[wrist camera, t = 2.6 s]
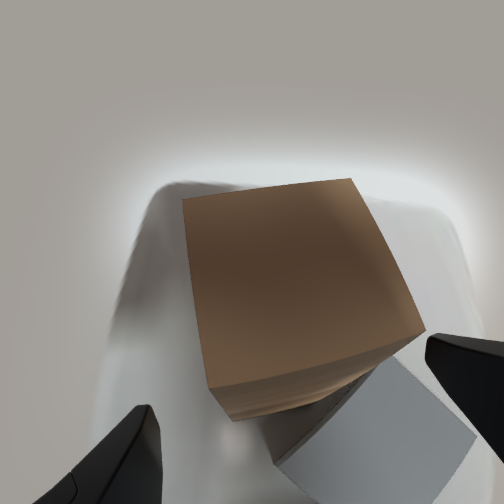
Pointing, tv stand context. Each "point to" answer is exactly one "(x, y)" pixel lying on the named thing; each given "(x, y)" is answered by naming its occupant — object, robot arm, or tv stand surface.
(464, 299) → the tv stand surface
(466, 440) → the grey block
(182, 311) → the tv stand surface
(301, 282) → the walnut block
